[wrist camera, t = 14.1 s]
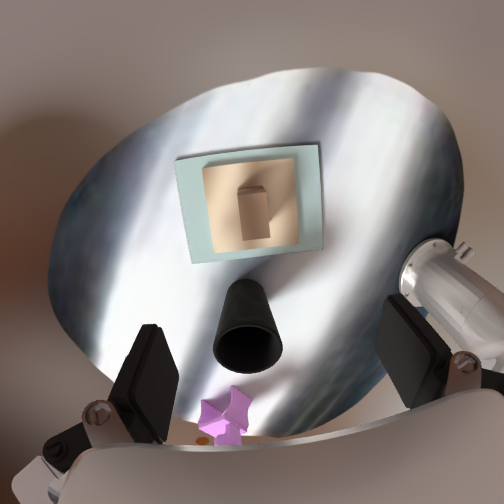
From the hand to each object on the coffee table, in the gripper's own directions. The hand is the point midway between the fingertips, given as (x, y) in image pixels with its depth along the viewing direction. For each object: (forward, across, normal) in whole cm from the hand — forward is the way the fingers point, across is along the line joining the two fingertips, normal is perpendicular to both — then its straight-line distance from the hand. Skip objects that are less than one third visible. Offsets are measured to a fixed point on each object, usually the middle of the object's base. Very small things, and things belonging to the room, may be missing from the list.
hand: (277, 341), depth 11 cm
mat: (+26, 0, 0) cm, 26 cm away
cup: (+26, +2, +13) cm, 30 cm away
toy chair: (+26, +10, +38) cm, 47 cm away
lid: (+26, 0, 0) cm, 26 cm away
